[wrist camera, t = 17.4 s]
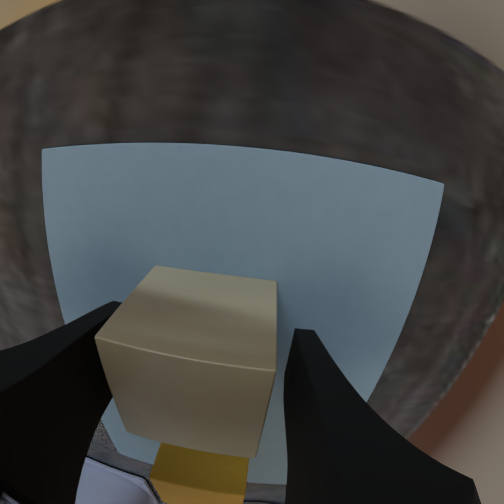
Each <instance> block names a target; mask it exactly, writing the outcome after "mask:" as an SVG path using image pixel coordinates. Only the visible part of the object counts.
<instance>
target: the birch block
mask: <svg viewBox="0 0 504 504" xmlns="http://www.w3.org/2000/svg"><path fill="white" fill-rule="evenodd" d="M95 341H96V345H97V349H98V352H99V356H100V359H101V363H102V366H103V369H104V372H105V375H106V379H107V382H108V385H109V387H110V390H111V393H112V396H113V399H114V401H115V404H116V407H117V409H118V412H119V415H120V417H121V420H122V422H123V424H124V427H125V429H126V431H127V432H128V433H131V434H134V435H138V436H141V437H144V438H148V439H151V440H155V441H159V442H163V443H167V444H171V445H175V446H180V447H184V448H189V449H194V450H199V451H204V452H210V453H216V454H223V455H230V456H238V457H247V458H255V457H256V455H257V451H258V447H259V443H260V439H261V435H262V431H263V427H264V423H265V419H266V415H267V411H268V407H269V403H270V398H271V394H272V390H273V385H274V381H275V376H276V372H277V281H274V280H265V279H257V278H248V277H240V276H232V275H224V274H216V273H208V272H201V271H193V270H186V269H178V268H171V267H164V266H157V265H156V266H154V267H153V268H152V270H151V271H150V272H149V273H148V274H147V275H146V276H145V277H144V279H143V280H142V281H141V282H140V283H139V284H138V285H137V286H136V288H135V289H134V290H133V291H132V292H131V293H130V295H129V296H128V297H127V298H126V299H125V300H124V302H123V303H122V304H121V305H120V306H119V307H118V309H117V310H116V311H115V312H114V313H113V315H112V316H111V317H110V318H109V319H108V321H107V322H106V323H105V324H104V325H103V327H102V328H101V329H100V330H99V331H98V333H97V334H96V335H95Z"/></svg>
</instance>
